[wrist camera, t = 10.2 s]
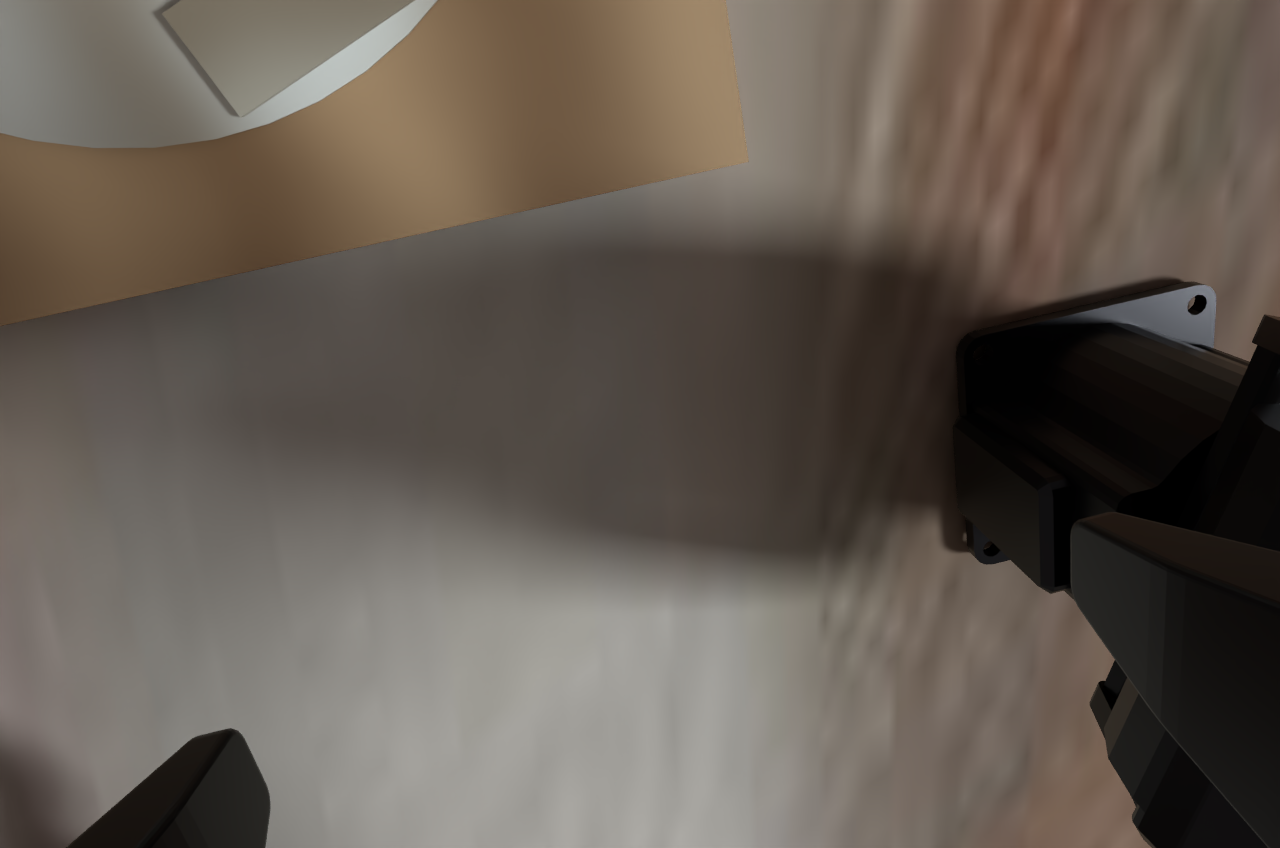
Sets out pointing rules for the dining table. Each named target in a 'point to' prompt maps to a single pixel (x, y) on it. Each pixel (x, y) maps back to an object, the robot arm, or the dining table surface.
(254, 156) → the tuner board
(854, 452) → the dining table surface
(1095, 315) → the robot arm
